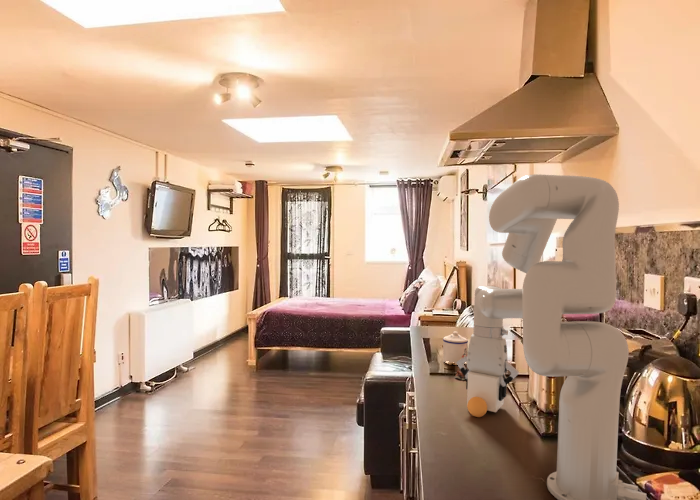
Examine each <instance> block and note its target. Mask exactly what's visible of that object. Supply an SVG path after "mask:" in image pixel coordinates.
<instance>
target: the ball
mask: <svg viewBox="0 0 700 500" xmlns="http://www.w3.org/2000/svg"><path fill="white" fill-rule="evenodd" d="M466 407H467V410H468V413H470V415H471V416H472V417H477V418H481V417H483V416H485V415H486V413H487V411H488V410H487V404H486V402H485V401H484V400H483V399H482V398H480V397H473V398H471V399H470V400H469V401H468V404H467V403H466Z"/></svg>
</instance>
